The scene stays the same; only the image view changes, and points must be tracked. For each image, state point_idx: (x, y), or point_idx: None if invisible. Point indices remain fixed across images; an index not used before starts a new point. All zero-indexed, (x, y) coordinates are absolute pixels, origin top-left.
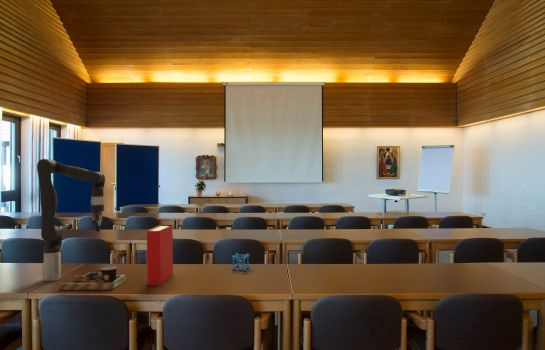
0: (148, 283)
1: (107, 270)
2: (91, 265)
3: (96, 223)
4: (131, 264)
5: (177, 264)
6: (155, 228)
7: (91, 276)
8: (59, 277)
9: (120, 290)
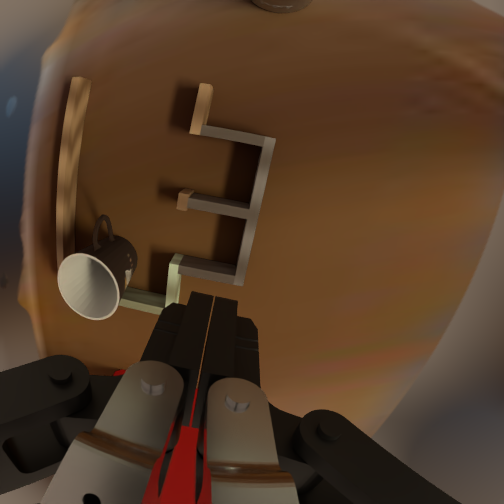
0: (113, 375)
1: (60, 284)
2: (497, 126)
3: (30, 431)
4: (460, 284)
5: (378, 418)
6: None
7: (261, 148)
8: (270, 8)
9: (60, 301)
